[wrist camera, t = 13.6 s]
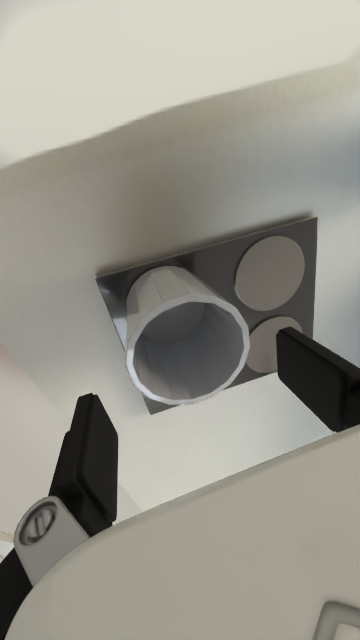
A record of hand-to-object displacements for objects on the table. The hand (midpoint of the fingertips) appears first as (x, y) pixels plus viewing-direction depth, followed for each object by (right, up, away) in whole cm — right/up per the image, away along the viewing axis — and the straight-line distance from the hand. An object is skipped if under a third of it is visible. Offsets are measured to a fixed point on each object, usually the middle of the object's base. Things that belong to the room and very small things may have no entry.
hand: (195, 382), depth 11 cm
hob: (+3, +3, +12) cm, 13 cm away
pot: (-2, +4, +9) cm, 10 cm away
